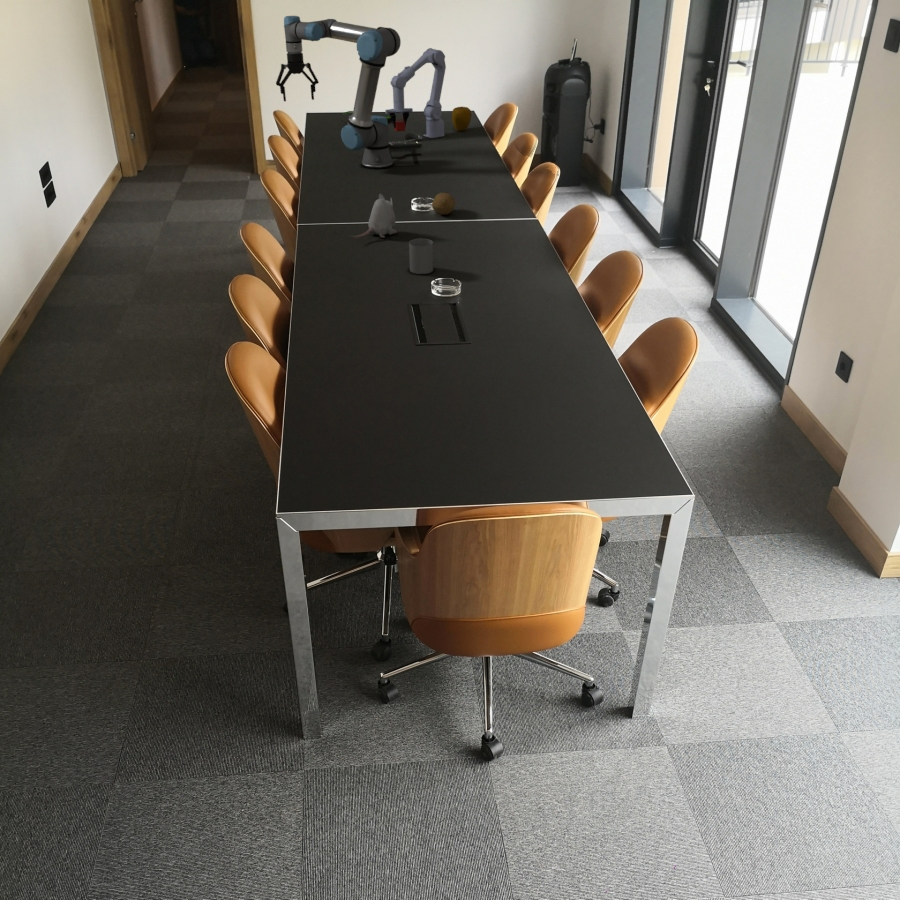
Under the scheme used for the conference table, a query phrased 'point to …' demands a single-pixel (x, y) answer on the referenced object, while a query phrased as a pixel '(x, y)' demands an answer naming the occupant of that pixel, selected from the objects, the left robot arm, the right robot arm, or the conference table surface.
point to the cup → (421, 256)
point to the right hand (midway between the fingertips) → (399, 127)
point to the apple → (461, 118)
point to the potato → (443, 203)
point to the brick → (400, 125)
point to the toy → (381, 218)
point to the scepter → (385, 117)
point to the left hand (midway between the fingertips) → (298, 100)
